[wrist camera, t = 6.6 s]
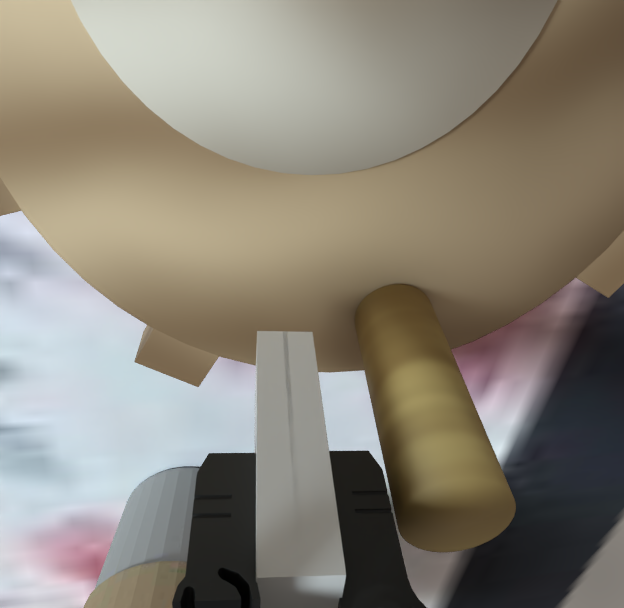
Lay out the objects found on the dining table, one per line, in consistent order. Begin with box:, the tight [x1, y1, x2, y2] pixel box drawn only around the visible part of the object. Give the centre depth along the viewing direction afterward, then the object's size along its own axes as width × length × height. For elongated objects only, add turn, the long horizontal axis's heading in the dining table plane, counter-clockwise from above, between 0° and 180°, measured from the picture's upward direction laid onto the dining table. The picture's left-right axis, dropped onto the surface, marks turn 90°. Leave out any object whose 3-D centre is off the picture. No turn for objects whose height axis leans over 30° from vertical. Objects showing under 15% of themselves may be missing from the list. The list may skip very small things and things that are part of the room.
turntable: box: [0, 0, 624, 552], centre depth 11 cm, size 21×21×9 cm
